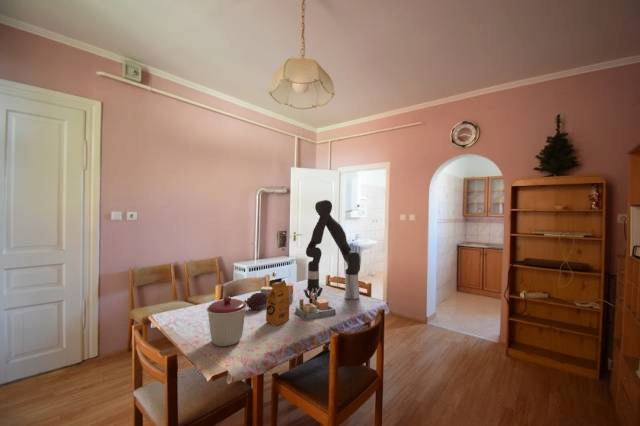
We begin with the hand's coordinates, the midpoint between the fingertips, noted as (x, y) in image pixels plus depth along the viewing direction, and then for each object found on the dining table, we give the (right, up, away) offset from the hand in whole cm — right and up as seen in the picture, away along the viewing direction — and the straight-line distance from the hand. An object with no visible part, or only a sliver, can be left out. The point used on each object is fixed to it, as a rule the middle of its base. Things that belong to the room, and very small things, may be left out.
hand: (313, 303), depth 181 cm
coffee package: (-19, -1, -27) cm, 33 cm away
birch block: (-4, -1, -14) cm, 15 cm away
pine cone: (-35, -1, -8) cm, 36 cm away
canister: (-39, -1, -51) cm, 65 cm away
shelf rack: (+2, -1, -14) cm, 14 cm away
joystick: (+3, -1, -6) cm, 7 cm away
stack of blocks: (-25, -1, +6) cm, 25 cm away
